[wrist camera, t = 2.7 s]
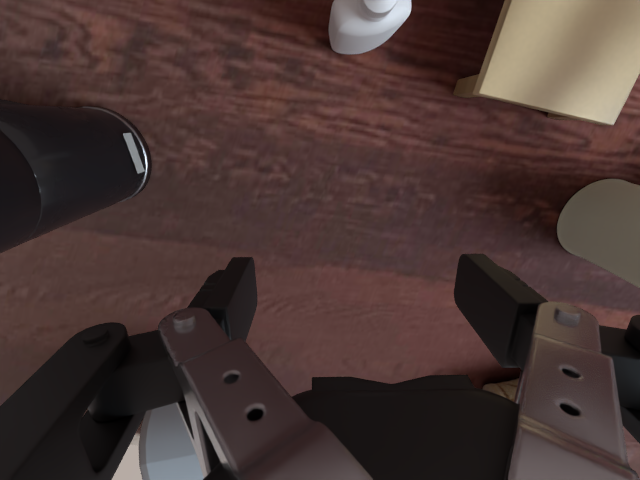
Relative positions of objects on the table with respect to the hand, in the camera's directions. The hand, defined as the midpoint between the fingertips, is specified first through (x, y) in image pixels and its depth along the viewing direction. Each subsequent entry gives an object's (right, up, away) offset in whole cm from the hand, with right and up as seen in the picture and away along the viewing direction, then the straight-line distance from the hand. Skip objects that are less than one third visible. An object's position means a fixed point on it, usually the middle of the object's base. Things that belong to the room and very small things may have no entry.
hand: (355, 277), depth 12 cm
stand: (+18, +19, +17) cm, 32 cm away
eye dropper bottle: (+2, +21, +17) cm, 27 cm away
